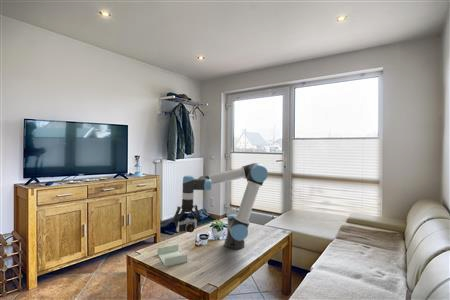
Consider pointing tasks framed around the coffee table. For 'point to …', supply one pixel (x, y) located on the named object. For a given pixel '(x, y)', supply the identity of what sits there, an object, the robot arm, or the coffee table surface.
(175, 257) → the u cradle
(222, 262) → the coffee table surface
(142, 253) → the coffee table surface
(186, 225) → the camera
